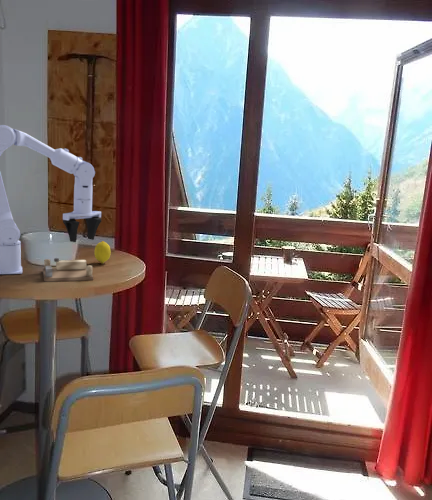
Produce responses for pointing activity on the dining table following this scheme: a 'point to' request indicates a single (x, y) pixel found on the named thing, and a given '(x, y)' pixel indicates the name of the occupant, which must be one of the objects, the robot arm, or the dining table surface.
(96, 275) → the dining table surface
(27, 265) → the dining table surface
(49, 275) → the board
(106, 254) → the lemon
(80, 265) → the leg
